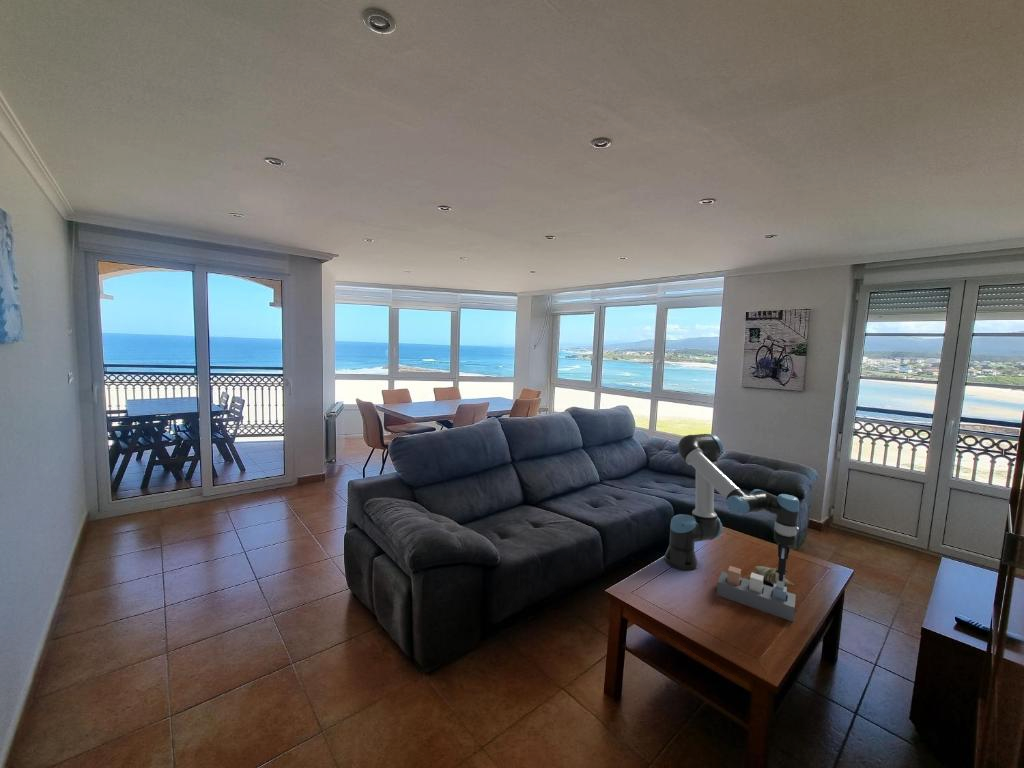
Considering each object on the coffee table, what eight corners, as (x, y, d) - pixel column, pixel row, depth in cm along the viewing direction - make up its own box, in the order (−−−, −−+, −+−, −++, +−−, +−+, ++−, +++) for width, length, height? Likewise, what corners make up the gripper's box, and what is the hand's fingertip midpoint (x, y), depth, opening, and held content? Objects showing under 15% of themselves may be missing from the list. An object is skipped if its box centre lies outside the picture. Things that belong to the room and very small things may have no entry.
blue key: (771, 604, 171) (773, 588, 170) (772, 598, 175) (774, 583, 174) (784, 608, 168) (786, 592, 168) (785, 603, 172) (787, 587, 171)
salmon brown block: (726, 585, 181) (728, 570, 180) (728, 580, 185) (729, 565, 184) (738, 589, 178) (739, 573, 178) (740, 584, 182) (741, 569, 181)
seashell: (796, 578, 186) (781, 562, 185) (791, 596, 181) (776, 580, 181) (767, 576, 198) (753, 561, 198) (762, 593, 193) (747, 578, 193)
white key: (748, 592, 176) (750, 577, 175) (750, 587, 180) (751, 572, 179) (761, 596, 173) (762, 580, 172) (762, 591, 177) (763, 576, 176)
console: (716, 594, 181) (717, 582, 180) (721, 583, 189) (722, 571, 189) (793, 621, 164) (794, 607, 164) (794, 607, 173) (795, 594, 172)
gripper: (795, 541, 161) (790, 597, 163) (797, 529, 171) (791, 583, 174) (773, 535, 165) (768, 590, 168) (775, 524, 176) (770, 576, 178)
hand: (780, 586), depth 171 cm, fingers closed
